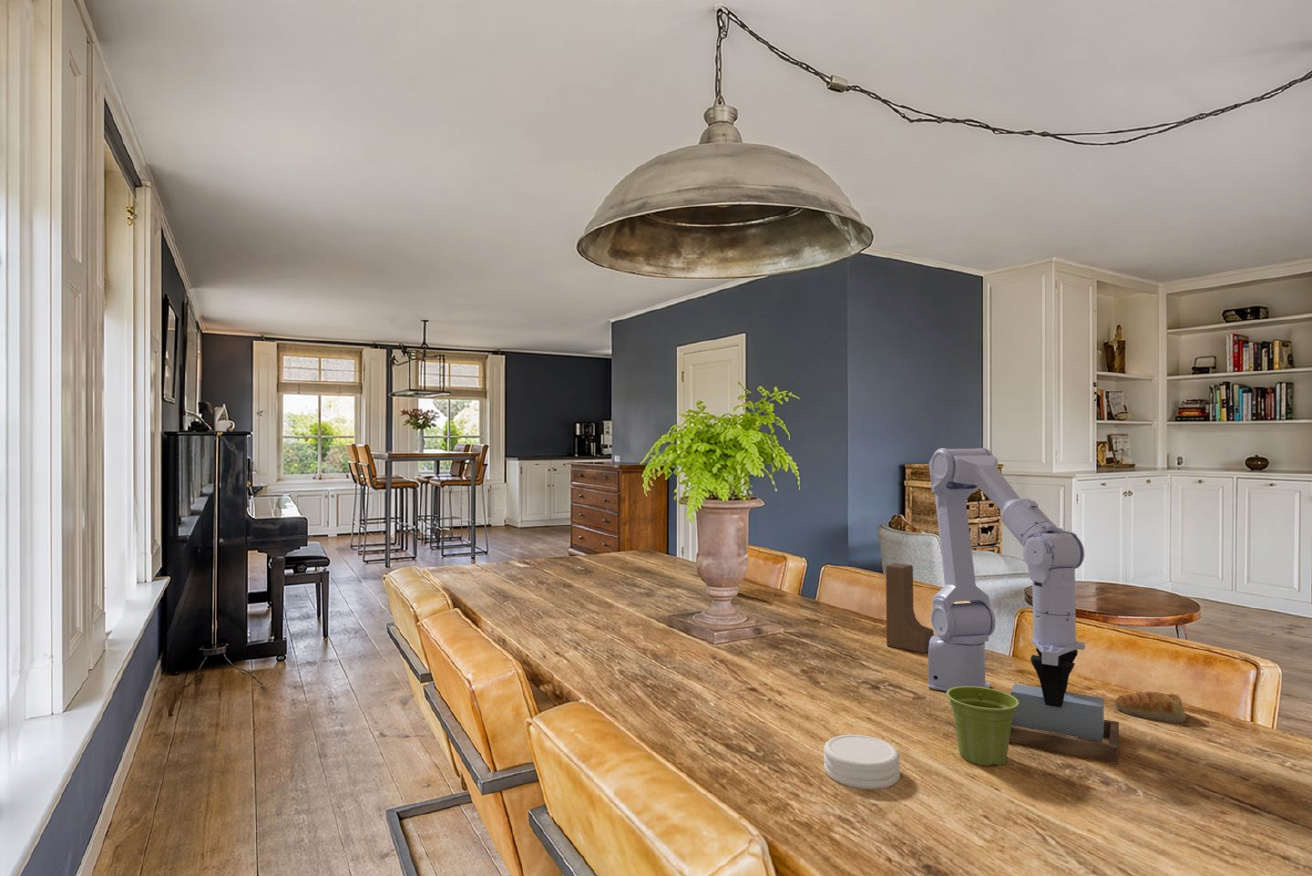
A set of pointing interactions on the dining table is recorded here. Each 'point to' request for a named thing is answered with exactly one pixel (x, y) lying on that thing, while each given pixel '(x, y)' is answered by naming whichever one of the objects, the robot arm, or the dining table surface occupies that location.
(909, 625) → the wooden block
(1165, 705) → the pastry
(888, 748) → the coaster
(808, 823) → the dining table surface
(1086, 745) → the peg frame
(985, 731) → the plant pot
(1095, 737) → the blue-grey rectangular block
